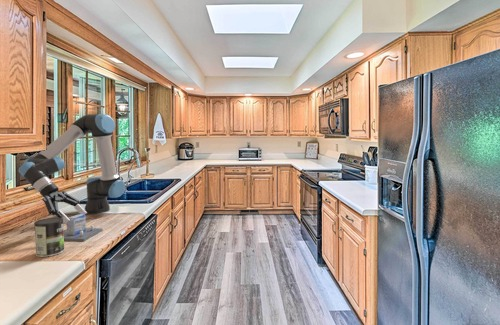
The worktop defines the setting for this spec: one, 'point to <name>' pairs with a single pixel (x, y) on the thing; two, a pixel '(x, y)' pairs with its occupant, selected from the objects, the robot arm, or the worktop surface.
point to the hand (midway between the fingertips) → (76, 218)
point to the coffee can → (49, 237)
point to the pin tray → (82, 234)
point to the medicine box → (76, 224)
